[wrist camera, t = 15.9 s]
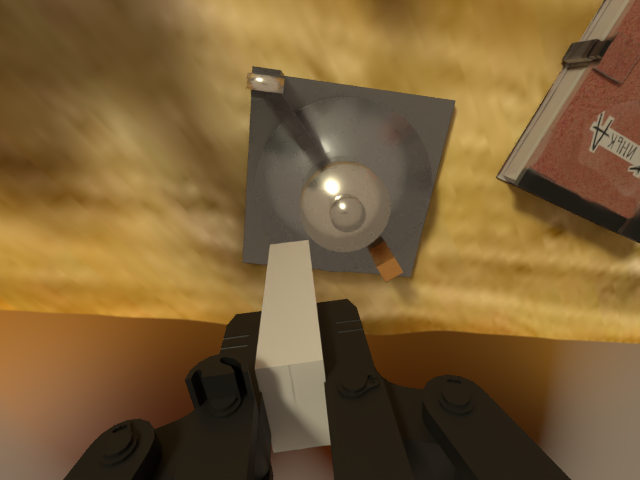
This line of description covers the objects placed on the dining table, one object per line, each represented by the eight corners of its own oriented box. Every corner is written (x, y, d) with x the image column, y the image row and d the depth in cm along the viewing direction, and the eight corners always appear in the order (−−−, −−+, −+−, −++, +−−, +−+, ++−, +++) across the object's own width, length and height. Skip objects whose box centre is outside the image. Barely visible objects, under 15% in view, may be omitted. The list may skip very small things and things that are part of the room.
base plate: (244, 258, 41) (242, 262, 40) (253, 71, 34) (252, 71, 33) (408, 273, 44) (410, 277, 43) (451, 100, 36) (455, 100, 35)
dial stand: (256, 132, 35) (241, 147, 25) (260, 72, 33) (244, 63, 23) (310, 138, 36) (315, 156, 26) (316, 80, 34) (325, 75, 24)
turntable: (220, 161, 36) (207, 174, 30) (376, 57, 33) (392, 50, 27) (315, 289, 42) (318, 319, 37) (451, 211, 39) (477, 231, 34)
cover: (335, 247, 38) (343, 275, 32) (283, 194, 35) (280, 214, 29) (394, 197, 36) (413, 217, 30) (343, 138, 34) (353, 146, 28)
